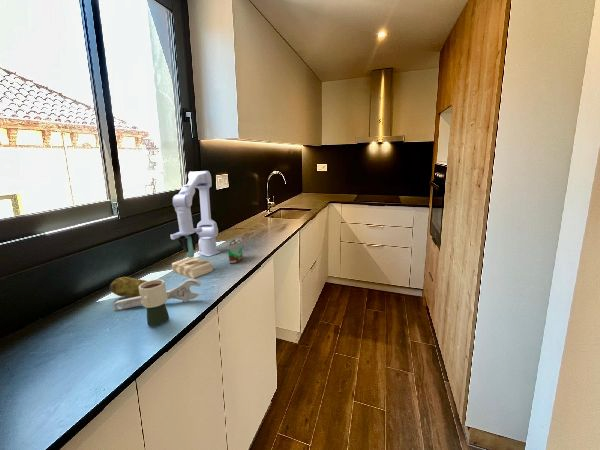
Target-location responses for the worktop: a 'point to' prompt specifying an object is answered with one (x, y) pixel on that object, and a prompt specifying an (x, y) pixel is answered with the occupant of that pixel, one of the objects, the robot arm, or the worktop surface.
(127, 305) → the wrench
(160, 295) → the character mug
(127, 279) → the potato
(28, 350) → the worktop surface
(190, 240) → the peg
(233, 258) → the food container
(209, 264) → the hole block
